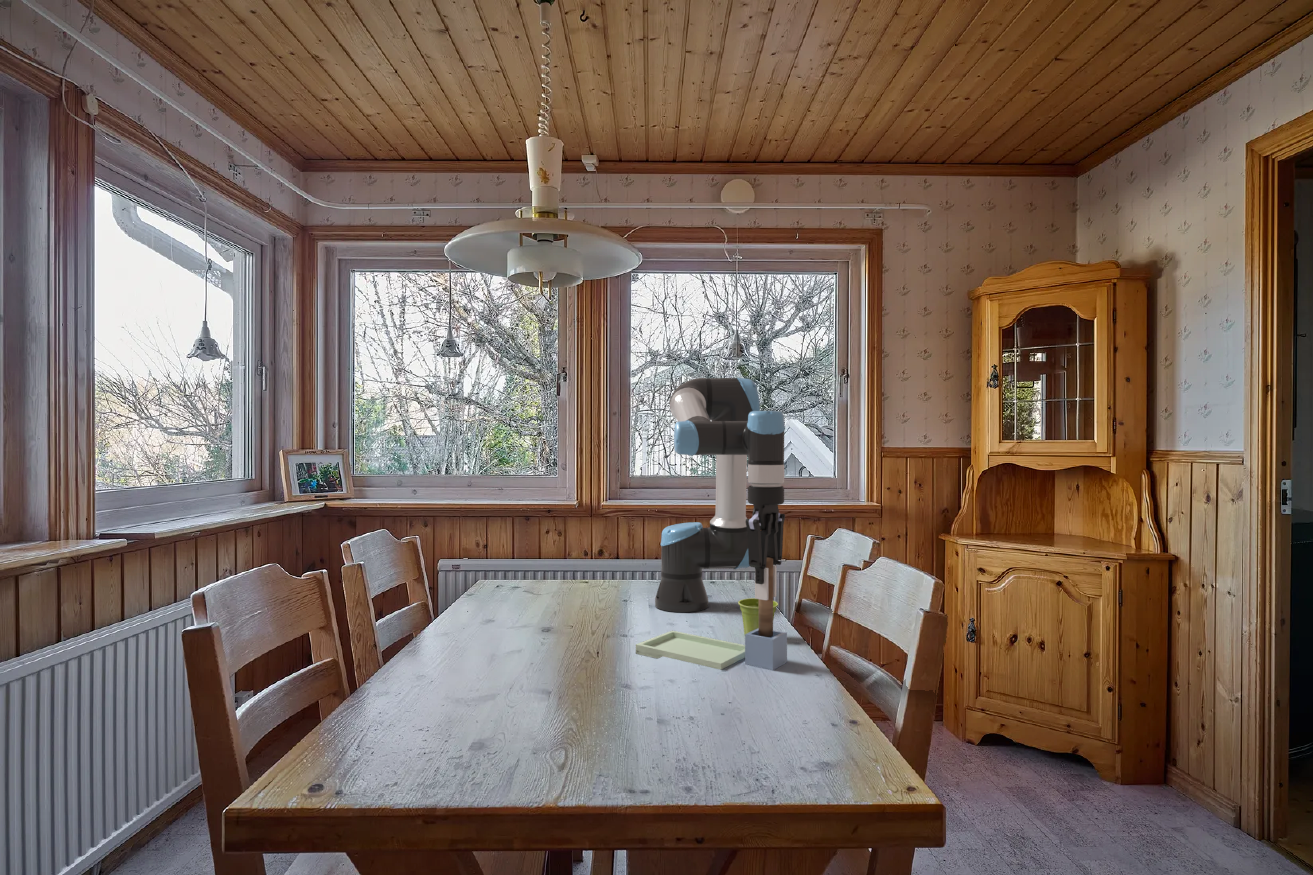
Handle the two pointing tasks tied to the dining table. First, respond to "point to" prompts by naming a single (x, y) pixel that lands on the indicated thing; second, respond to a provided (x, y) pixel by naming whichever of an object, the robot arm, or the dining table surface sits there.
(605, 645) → the dining table surface
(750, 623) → the plant pot
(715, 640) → the tray
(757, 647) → the open box
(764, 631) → the dowel
